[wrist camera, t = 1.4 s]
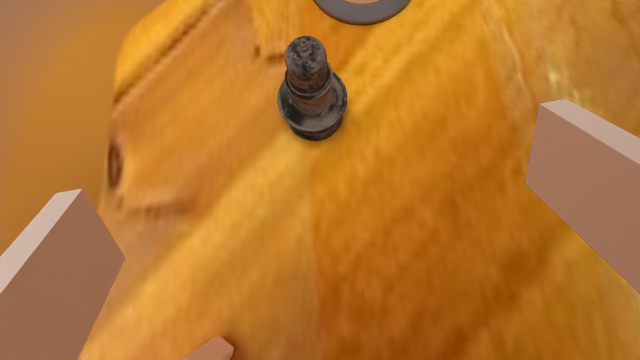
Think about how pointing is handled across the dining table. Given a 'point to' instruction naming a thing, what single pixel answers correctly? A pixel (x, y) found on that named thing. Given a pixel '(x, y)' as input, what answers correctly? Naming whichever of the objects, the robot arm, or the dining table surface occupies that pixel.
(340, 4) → the coaster
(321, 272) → the dining table surface
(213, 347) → the cable organizer
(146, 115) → the dining table surface
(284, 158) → the dining table surface
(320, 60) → the salt shaker
